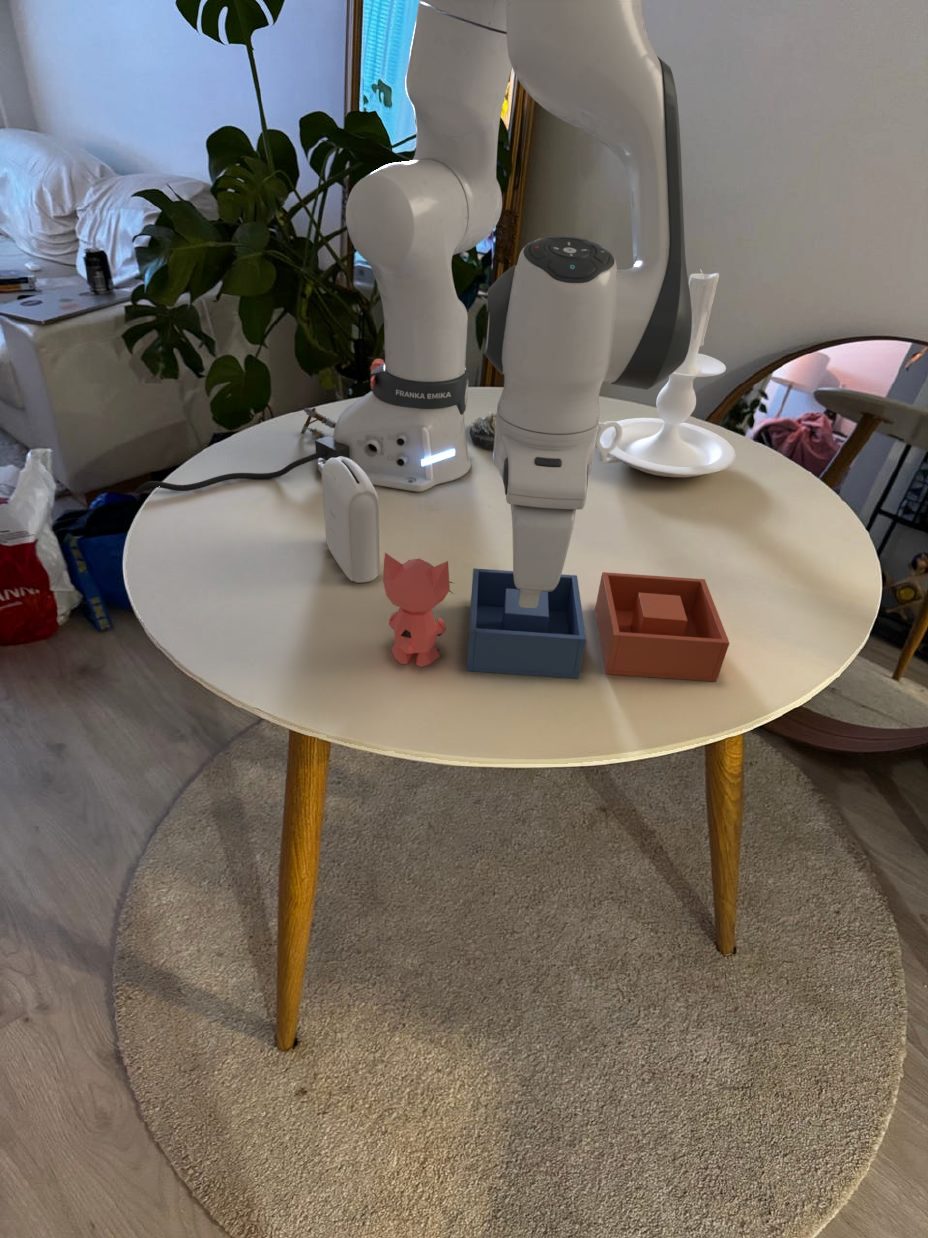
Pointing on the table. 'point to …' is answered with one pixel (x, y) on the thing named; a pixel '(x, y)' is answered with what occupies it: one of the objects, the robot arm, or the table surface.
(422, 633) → the cat figurine
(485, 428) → the shell on grey dish
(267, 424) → the table surface
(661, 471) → the candlestick
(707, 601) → the terracotta bin
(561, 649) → the slate bin
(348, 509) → the photo printer
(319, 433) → the wooden post with brackets
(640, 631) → the terracotta block
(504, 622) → the slate block
